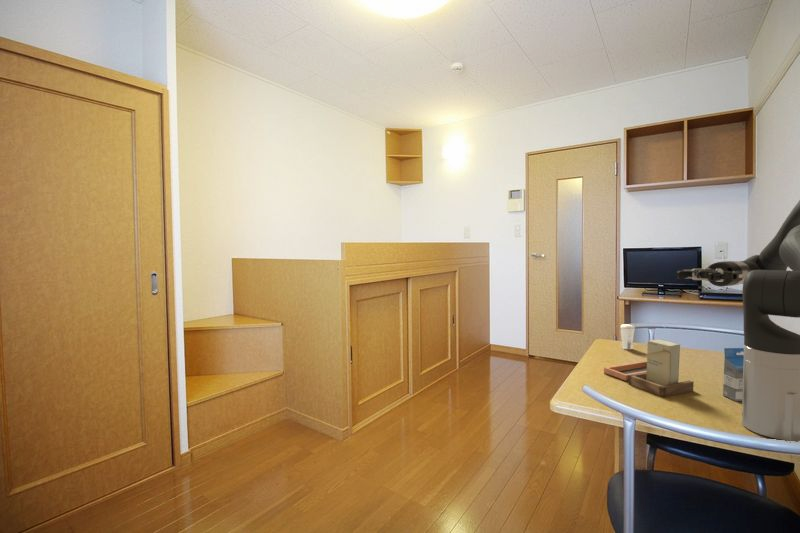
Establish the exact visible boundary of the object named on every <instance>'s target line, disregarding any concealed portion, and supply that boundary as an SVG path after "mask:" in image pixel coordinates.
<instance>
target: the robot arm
mask: <svg viewBox="0 0 800 533" xmlns="http://www.w3.org/2000/svg"><path fill="white" fill-rule="evenodd" d="M788 268H789V269H790V270H788ZM675 277H676V279H678V280H679V279H680V280H682V279H685V280H687V279H692V280H693V281H705V282H709V284H711V285H714V286H716V287H730V286H732V287H733V286H738V285H742V308H743V309H742V310H743V337H744V338H743V348H744V352H743V355H744V363H743V401H741V402H742V404H741V405H742V408H741V409H742V410H741V424H742V426H743V427H745V428H746V429H748V430H749V431H752V432H753V433H756V434H758V435H761V436H764V437H768V438H771V439H772V438H773V439H777V440H782V441H785V440H788V441H797V442H799V441H800V334H799V333H796V332H793V331H790V330H788V329H787V328H783V326H782V327H781V326H780V325H779V324H776V323H775V322H774V321H772V320H771V318H770V317H769V316H776V317H787V318H788V317H789V318H800V199H799V200H798V202H797V203H796V204H795V205H794V207H793V208H792V210H791V211H790V213H789V214H788V216H786V218H785V220H784V221H783V223H782V225H781V226H780V228H779V230H778V231H777V232H776V234H775V235H774V237H773V238H772V239H771V240H770V242H769V243H768V244H767V245H765V247H764V248H763V249H762V250H761V251H760V253H759V254H754V255H751V256H750V257H748V258H746V259H745V260H741V261H739V260H738V261H737V260H736V261H735V260H729V261H728V260H726V261H725V260H724V261H715V262H712V263H711V264H709V265H708V266H707V267H703V268H691V269H678V271H676V274H675ZM788 441H787V442H788Z"/></svg>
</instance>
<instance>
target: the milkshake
mask: <svg viewBox="0 0 800 533" xmlns="http://www.w3.org/2000/svg"><path fill="white" fill-rule="evenodd" d="M637 323H638V322H635V323H634V325H632V324H627V323H626V324H625V323H623V324H620V327H619V328H620V336H621V338H620V339H621V348H622V349H623V350H627V351H631V350H633V344H634V334H635V329H636V328H635V327H636V325H637Z"/></svg>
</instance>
